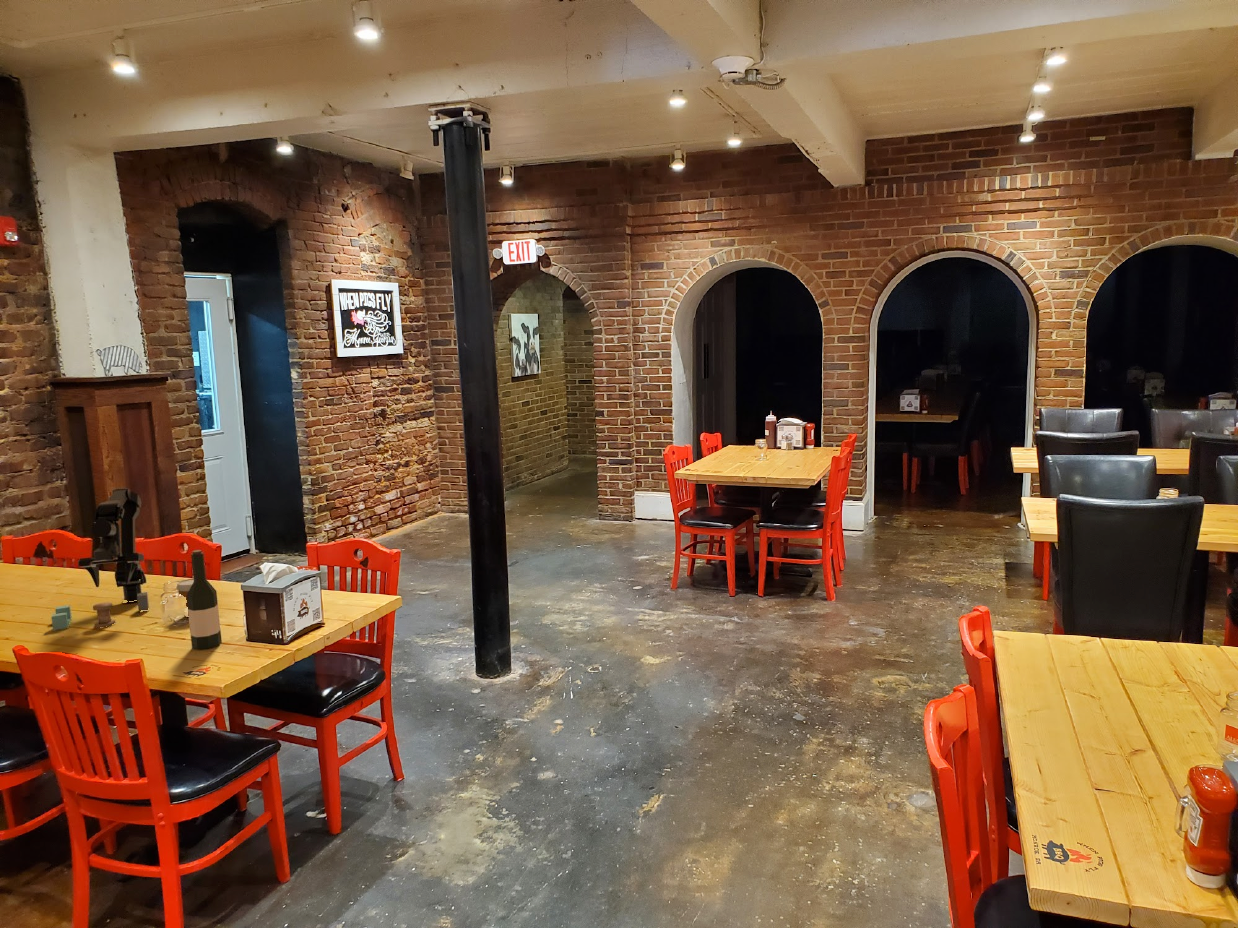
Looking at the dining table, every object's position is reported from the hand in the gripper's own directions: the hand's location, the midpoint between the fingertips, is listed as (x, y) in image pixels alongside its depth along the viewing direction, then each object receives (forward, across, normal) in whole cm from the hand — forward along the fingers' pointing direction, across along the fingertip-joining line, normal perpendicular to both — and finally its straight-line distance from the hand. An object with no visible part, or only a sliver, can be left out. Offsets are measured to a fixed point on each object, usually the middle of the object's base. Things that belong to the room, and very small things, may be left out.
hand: (112, 585), depth 282 cm
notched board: (+11, -18, +5) cm, 21 cm away
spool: (+13, -3, 0) cm, 13 cm away
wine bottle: (+23, +37, -30) cm, 53 cm away
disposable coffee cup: (+13, +25, +3) cm, 28 cm away
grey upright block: (+9, +5, +13) cm, 17 cm away
